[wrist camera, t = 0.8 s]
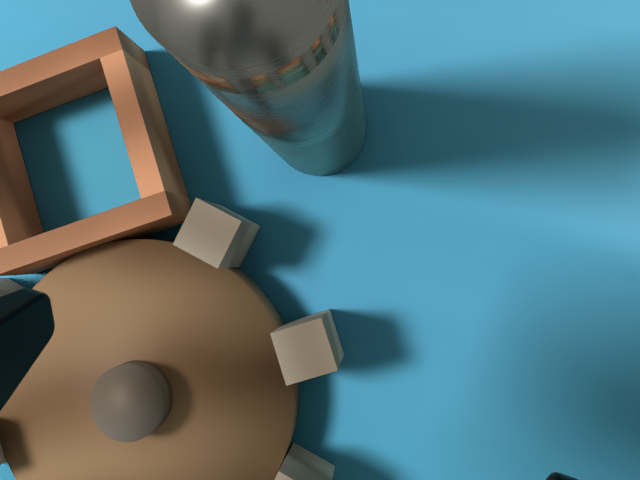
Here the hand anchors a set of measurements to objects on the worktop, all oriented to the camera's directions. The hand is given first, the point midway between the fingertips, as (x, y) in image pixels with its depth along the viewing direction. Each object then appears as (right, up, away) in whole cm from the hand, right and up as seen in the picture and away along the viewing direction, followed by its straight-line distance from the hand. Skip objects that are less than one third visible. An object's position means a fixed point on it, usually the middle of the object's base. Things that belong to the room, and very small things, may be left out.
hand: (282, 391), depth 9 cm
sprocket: (-8, -1, +14) cm, 16 cm away
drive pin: (+1, +7, +13) cm, 15 cm away
